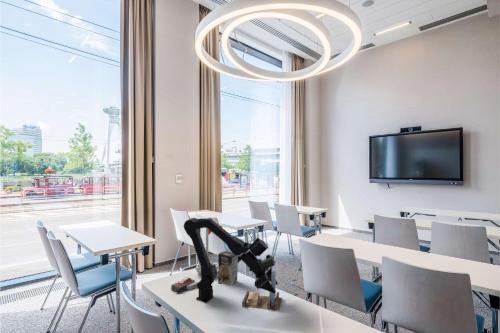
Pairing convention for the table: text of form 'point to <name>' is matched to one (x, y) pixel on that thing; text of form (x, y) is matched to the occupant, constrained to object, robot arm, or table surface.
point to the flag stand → (198, 267)
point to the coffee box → (227, 268)
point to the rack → (264, 302)
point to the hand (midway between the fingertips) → (276, 288)
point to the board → (273, 283)
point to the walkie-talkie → (184, 285)
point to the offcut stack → (252, 299)
